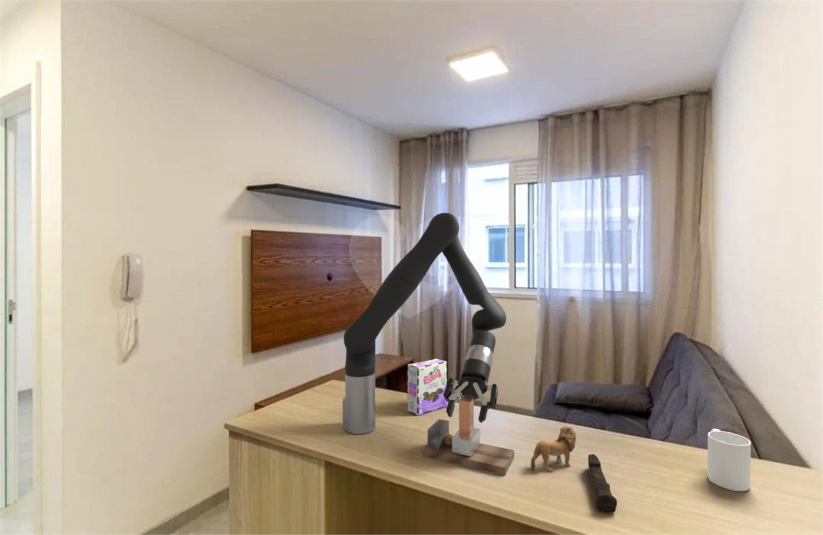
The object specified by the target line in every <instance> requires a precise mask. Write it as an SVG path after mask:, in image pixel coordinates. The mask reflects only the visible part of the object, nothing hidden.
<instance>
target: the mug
mask: <svg viewBox="0 0 823 535" xmlns="http://www.w3.org/2000/svg"><path fill="white" fill-rule="evenodd" d="M751 445H752V443H751V441H750V439H748V438H747V437H745V436H744V435H743V436H742V435H739V434H737V433H734V432H729V431H723V430H720V429H718V428H712V429H711V431H709V432H708V433H707V478H708V480H709V481H710V482H711V483H712V484H714V485H716V486H718V487H720V488H723V489H725V490H728V491H729V490H730V491H735V492H746V491H749V490H750V489H751V454H752V453H751V452H752V451H751V450H752V449H751V448H752V447H751Z"/></svg>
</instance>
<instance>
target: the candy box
mask: <svg viewBox="0 0 823 535" xmlns="http://www.w3.org/2000/svg"><path fill="white" fill-rule="evenodd" d="M447 363H448V362H447V361H446V360H443V359H439V358H434V359H430V360H424V361H421V362H420V361H419V362H415V363H408V364H407V403H406V404H407V406H406V407H407V409H406V410H407V412H409V413H411V414H413V415H415V416H422V415H425V414H428V413H432V412H434V411H438V410H441V409H444V408H447V405H448V401H446V400H445V398H444V396H443V394H444V391H445V389H446V386H447V383H448V378H447V377H448V373H447V372H448V370H447V369H448V367H447V366H448V364H447Z"/></svg>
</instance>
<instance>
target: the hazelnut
mask: <svg viewBox="0 0 823 535" xmlns="http://www.w3.org/2000/svg"><path fill="white" fill-rule="evenodd" d="M453 436H454V434H451V433H449V434H447V435H445V437H444V443H445V444H446V445H447V446H452V437H453Z"/></svg>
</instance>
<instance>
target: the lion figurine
mask: <svg viewBox="0 0 823 535" xmlns="http://www.w3.org/2000/svg"><path fill="white" fill-rule="evenodd" d="M559 431H560V432H559V433H558V437H557V439H555V440H551V441H549V440H540V441H538V442H536V444H535V448H534V451H533V456H532V457H531V458H530V459H531V460H530V467H531V469H530V471H531V472H534V471H535V468H536V467H537V465H536V460H537V459H539V457H540V456H541V458H542V460H543V463H542V465H543V467H544V468H545V470H546V471H548V472H550V473H551V472H552V471H553V469H552V468H551V467H549V465H548V462H549V461H550V456H551V457H556V462H557V463H563V462H562V461H563V460H562V457H561V456H562V455H563V456H564V464H565V466H566V467H569V468H570V467H571V466H572V465H571V463H569V462H570V456H571V455H570V454H571V452H573V451H574V449H575V448H576V440H577V437H576V436H577V435H576V434H577V432H575V430H574V428H573V427H572V426H570V425H569V426H568V425H564V426H562V427H561V428H560V429H559Z"/></svg>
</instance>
